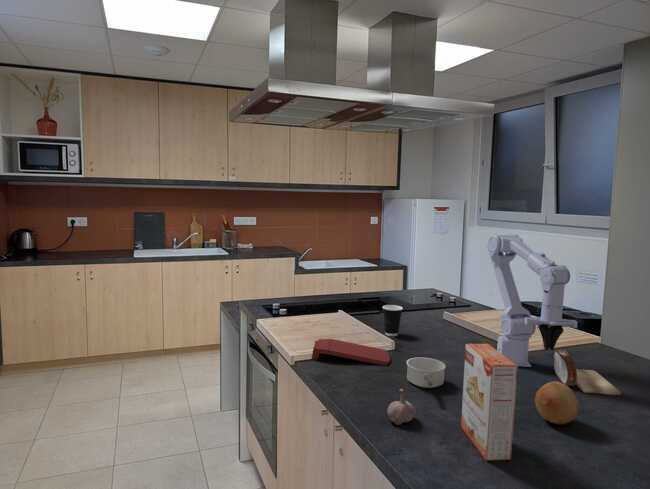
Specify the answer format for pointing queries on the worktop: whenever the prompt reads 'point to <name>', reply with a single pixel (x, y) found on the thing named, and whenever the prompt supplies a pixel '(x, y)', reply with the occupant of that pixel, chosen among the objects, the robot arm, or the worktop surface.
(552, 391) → the onion
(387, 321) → the dixie cup
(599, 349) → the worktop surface
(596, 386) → the oak board
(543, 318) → the robot arm
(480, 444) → the cracker box
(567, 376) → the tin
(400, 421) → the garlic bulb
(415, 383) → the white ceramic ramekin
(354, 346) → the red flat block
